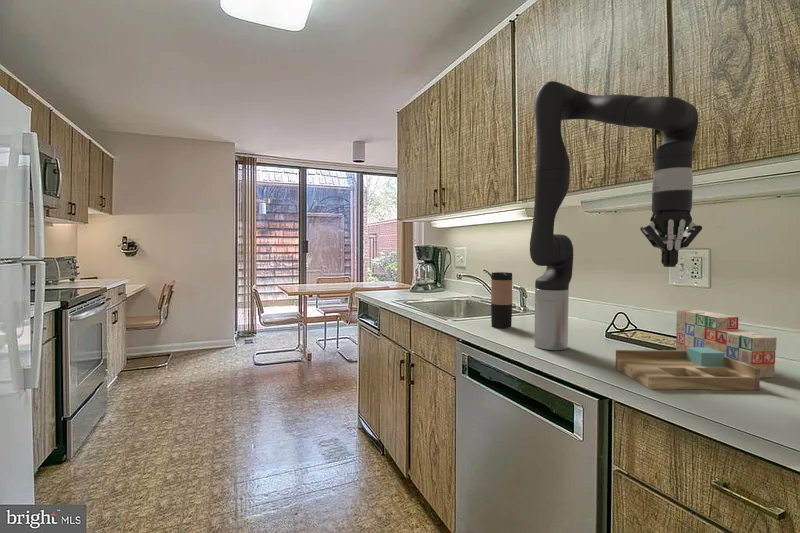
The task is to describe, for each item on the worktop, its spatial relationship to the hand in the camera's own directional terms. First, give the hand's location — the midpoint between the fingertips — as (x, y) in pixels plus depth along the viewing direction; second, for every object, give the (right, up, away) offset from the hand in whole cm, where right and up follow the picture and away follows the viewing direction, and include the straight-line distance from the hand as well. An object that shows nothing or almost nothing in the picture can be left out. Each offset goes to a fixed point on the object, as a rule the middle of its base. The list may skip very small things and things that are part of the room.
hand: (669, 266), depth 89 cm
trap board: (+2, -25, -2) cm, 25 cm away
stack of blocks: (+19, -25, +9) cm, 33 cm away
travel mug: (-24, -23, +55) cm, 65 cm away
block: (+9, -22, +2) cm, 24 cm away
